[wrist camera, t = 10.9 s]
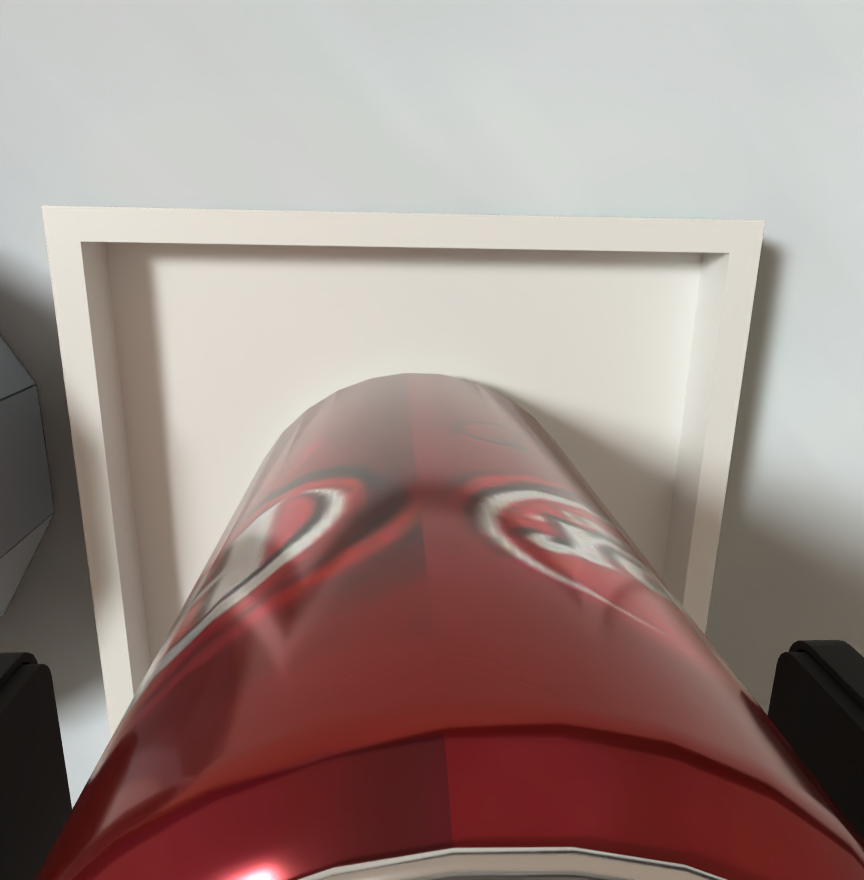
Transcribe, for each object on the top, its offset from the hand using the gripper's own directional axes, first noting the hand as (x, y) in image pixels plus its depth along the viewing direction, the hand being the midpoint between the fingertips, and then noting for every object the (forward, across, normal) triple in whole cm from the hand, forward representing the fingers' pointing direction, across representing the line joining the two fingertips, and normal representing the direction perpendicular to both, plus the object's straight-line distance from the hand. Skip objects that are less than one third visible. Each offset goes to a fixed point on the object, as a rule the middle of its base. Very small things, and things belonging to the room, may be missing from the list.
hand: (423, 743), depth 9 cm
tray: (+8, 0, 0) cm, 8 cm away
